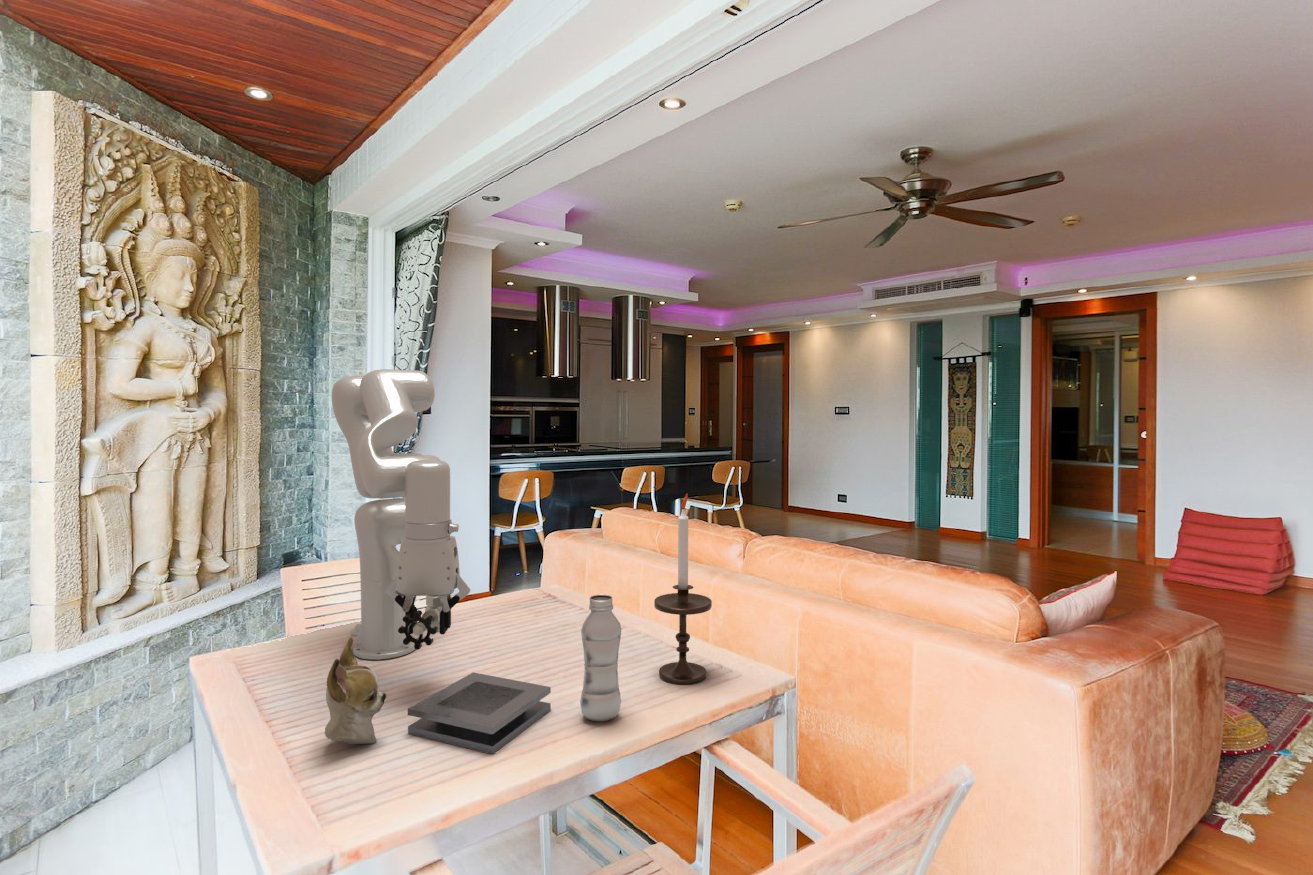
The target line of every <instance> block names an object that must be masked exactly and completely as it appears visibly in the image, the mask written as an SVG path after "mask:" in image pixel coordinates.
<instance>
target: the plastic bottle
mask: <svg viewBox="0 0 1313 875" xmlns="http://www.w3.org/2000/svg"><path fill="white" fill-rule="evenodd" d="M588 609H589V610H590V612H589V614H588V615H587V616H586V618H585V620H584V622H583V624H582V627H581V630H580V631H581V641H582V649H583V661H584V671H583V672H584V673H583V684H582V690H581V695H580V701H579V702H580V709H581V710H580V711H581V713H582V715H583V716H584V718H585V719H587V720H590V721H592V722H593V721H594V722H606V721H610V720H612V719H614V718H616V717H617V715H619V712H620V710H621V704H622V696H621V691H620V688H619V687H620V685H619V673H618V662H619V648H620V644H621V637H622V636H621V635H622V626H621V623H620V621H619V620H618V618H617V617H616V615H615V614H614V612H612V610H613V609H614V604H613V596H611V595H610V594H609V595H608V594H597V595H596V594H595V595H591V596H590V597H589V606H588Z"/></svg>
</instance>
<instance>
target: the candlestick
mask: <svg viewBox="0 0 1313 875" xmlns="http://www.w3.org/2000/svg"><path fill="white" fill-rule="evenodd" d="M688 498H689V497H688V493H686V494H685V496H684V498H683V500H682V503H681V508H682V509H681V513H680V515H678V525H677V526H678V527H677V528H678V530H677V531H678V532H677V533H678V540H677V542H678V545H677V546H678V548H677V550H678V552H677V554H678V555H677V556H678V558H677V559H678V560H677V562H678V563H677V566H678V568H677V570H678V571H677V572H678V573H677V575H678V576H677V581H678V582H677V584H675V585H673V586H672V589H674V590H677V592H673V593H666V594H665V593H664V594H661V595H659V596H657V597H655V599H654V603H653V604H654V608H655V610H658V611H660V612H661V613H664V614H665V613H666V614H671V615H678V617H679V623H678V626H679V629H678V631H679V632H678V633H676V634H675V640H676V641H677V642H678V646H677V647H676V652H678V654H679V655H678V661H675V662H669V663H666V664H664V665H662V666H660V668H659V670H658V677H659V679H661V681H663V682H666V683H667V684H671V685H677V686H680V685H681V686H688V685H689V686H691V685H697V684H699V683H702V682H704V681H705V680H706V679H707V669H706V667H704V666H702V664H701V665H700V664H697V663H693V662H689V661H687V653H688V652H689V651H690V647H688V642H690V641H689V640H690V639H691V635H690V633H688V632H687V616H688V615H689V616H690V615H697V614H704V613H706V612H708V611H710V610H711V609H712V604H713V601H712V599H711V598H710V597H708V596H705V595H702V594H698V593H690V592H689V590H692V589H694V586H693V585H691V584H689V516H687V514H686V509H685V508H686V504H687V500H688Z"/></svg>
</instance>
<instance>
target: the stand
mask: <svg viewBox="0 0 1313 875" xmlns="http://www.w3.org/2000/svg"><path fill="white" fill-rule="evenodd" d="M551 688H552V687H551V686H547V685H543V684H542V685H541V684H536V683H531V682H525V681H520V680H515V679H510V678H504V677H501V676H500V677H499V676H494V675H489V674H484V673H480V672H479V673H477V672H474V671H473V672H471V673H469V674H468V675H465V676H464V677H462V678H461V679H458V680H456V681H455V682H453V683H452V684H450V685H448V686H446V687H444V688H442V689H441V690H439V691H437V692H435V693H433V694H432V695H430V696H428V697H426V698H425V699H422V700H421V701H419V702H417V703H416V704H414V705H412V706H410V707H408V708H407V716H411V717H415V718H419V719H418V720H415V721H414V722H413V723H411V724H409V725H408V726H407V734H408V735H412V736H416V737H420V738H424V739H428V740H430V741H431V740H433V741H436V742H440V743H443V744H444V743H445V744H449V745H452V746H456V747H461V748H465V749H469V750H473V751H477V752H481V753H485V754H489V755H494V754H495V753H497V752H498V751H499V750H500V749H502V748H503V747H504V746H506V745H508V744H509V743H510V742H511V741H512V740H514V739H515V738H516V737H518V736H519V735H520V734H521V733H523V732H524V731H526V729H528V728H529V727H531V726H532V725H533V724H535V723H536V722H538V721H539V720H540V719H541V718H542V717H544V716H545V715H546V714H548V713H549V712H551V709H552V707H551V703H550V702H544V701H542V700H543V699H544V698H546V697H547V696H549V695H550V694H551V691H552V690H551Z"/></svg>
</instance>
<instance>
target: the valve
mask: <svg viewBox="0 0 1313 875" xmlns="http://www.w3.org/2000/svg"><path fill="white" fill-rule="evenodd" d="M425 605H426V607H425V609H424V612H422V610H419V609H417V611H416V612H415V613H414V618H412V619H411V618H410V617H409V616H410V615H405V616H404V617H403V622H405V623H406V625H405V627H403V626H401V627H400V628H399V629H398V632H399V633H400V634H402V633H404V634H405V635H406V638H405V639H404V640H403V644H404V645H408V644H409V643H410V642H413V643H414V644H415V645H414V648H415V650H417V651H418V650H420V649H421V648H423V644H422V643H425V645H426V646H431V645H433V643H434V641H435V640H434V638H431V635H436V634H438V633H439V634H440V612H441V611H442V606H441V602H440V599H439V596H425ZM415 621H417V622H415ZM411 624H412V625H414V627H413V634H414V635H416V636H418V638H416V637H415V638H416V639H415V638H413V637H414V636H413V637H412V634H410V633H409V626H410V625H411ZM425 632H426V635H425V636H424V633H425Z"/></svg>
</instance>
